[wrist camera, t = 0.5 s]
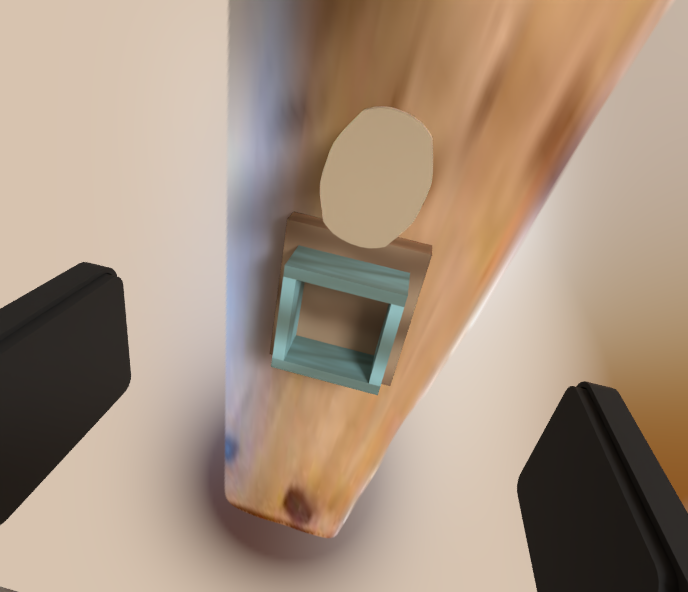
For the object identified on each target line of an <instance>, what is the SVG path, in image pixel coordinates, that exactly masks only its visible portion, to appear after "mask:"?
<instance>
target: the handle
mask: <svg viewBox="0 0 688 592" xmlns="http://www.w3.org/2000/svg"><path fill="white" fill-rule="evenodd" d="M432 175H433V137H432V135H431V134H430V132H429V130H428V129H427V128H426V127H425V125H424V124H423V123H422V122H421V121H419V120H418V119H417V118H416V117H414V116H413V115H411V114H409V113H407V112H405V111H402V110H399V109H396V108H393V107H386V106H378V107H371V108H367V109H364V110H363V111H362V112H361V113H360V114H359V115H358V116H357V117H356V118H355V119H354V120H353V121H352V122H351V123H350V124H349V125H348V126H347V127H346V128H345V129H344V130H343V131H342V132H341V133H340V135H339V136H338V137H337V139H336V140H335V142H334V143H333V145H332V147H331V150H330V152H329V155H328V158H327V161H326V164H325V167H324V170H323V173H322V177H321V181H320V200H321V209H322V216H323V222H324V223H325V225H326V226H327V227H328V228H329V229H330V231H331V232H332V233H333V234H335V235H336V236H338V237H339V238H340V239H342V240H344V241H346V242H348V243H350V244H353V245H356V246H359V247H364V248H381V247H386V246H387V245H388V244H389V243H391V242H392V241H393V240H394V239H396V238H397V237H398V236H399V235H400V234H402V233H403V232H404V231H405V230H406V229H407V228H408V227H409V226H410V225H411V224H412V223H413V222H414V220H415V218H416V217H417V215H418V213H419V211H420V209H421V207H422V205H423V203H424V201H425V199H426V196H427V194H428V192H429V189H430V186H431V183H432Z"/></svg>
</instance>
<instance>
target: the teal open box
mask: <svg viewBox="0 0 688 592" xmlns="http://www.w3.org/2000/svg"><path fill="white" fill-rule="evenodd" d="M431 256H432V246H431V245H427V244H423V243H419V242H415V241H411V240H407V239H403V238H399V237H397V238H396V239H394V240H393V241H392V242H391V243H389V244H388V245H387V246H386V247H381V248H364V247H359V246H356V245H353V244H350V243H348V242H346V241H344V240H342V239H340V238H339V237H338V236H336V235H335V234H333V233H332V232H331V231H330V229H329V228H328V227H327V226H326V225H325V223H324V222H323V219H321V218H317V217H313V216H309V215H305V214H301V213H297V212H293V213H292V215H291V216H290V217H289V218H288V219H287V225H286V233H285V240H284V248H283V256H282V264H281V271H280V279H279V287H278V294H277V302H276V310H275V317H274V325H273V333H272V340H271V348H270V354H271V355H273V357H272V364H271V367H274V368H278V369H282V370H285V371H289V372H293V373H297V374H300V375H304V376H308V377H312V378H315V379H319V380H323V381H327V382H330V383H334V384H338V385H341V386H345V387H349V388H353V389H356V390H360V391H364V392H368V393H371V394H375V395H378V392H379V389H380V386H381V384H384V385H388V386H390V385H391V382H392V379H393V376H394V373H395V369H396V366H397V363H398V360H399V357H400V354H401V351H402V347H403V344H404V341H405V338H406V335H407V332H408V329H409V325H410V322H411V319H412V316H413V313H414V310H415V307H416V304H417V300H418V297H419V294H420V291H421V288H422V285H423V282H424V278H425V275H426V272H427V269H428V266H429V263H430V260H431Z"/></svg>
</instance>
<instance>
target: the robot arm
mask: <svg viewBox="0 0 688 592" xmlns="http://www.w3.org/2000/svg"><path fill="white" fill-rule="evenodd" d="M130 380H131V371H130V358H129V347H128V335H127V324H126V312H125V301H124V289H123V282H122V280H121V278H119V277H117V274H116V272H115V271H114V270H113V269H112V268H109V267H104V266H100V265H96V264H91V263H87V262H82V263H80V264H78V265H76V266H74V267H72V268H71V269H69V270H67V271H65V272H64V273H62V274H60V275H58V276H57V277H55V278H53V279H51V280H50V281H48V282H46V283H45V284H43V285H41V286H39V287H37V288H36V289H34V290H32V291H31V292H29V293H27V294H25V295H24V296H22V297H20V298H18V299H17V300H15V301H13V302H11V303H10V304H8V305H6V306H4V307H3V308H1V309H0V525H1V524H2V523H4V522H5V521H6V520H7V519H8V518H9V517H10V515H12V513H13V512H14V511H15V510H16V509H17V508H18V507H19V506H20V505H21V504H22V503H23V501H24V500H25V499H26V498H27V497H28V496H29V495H30V494H31V493H32V492H33V491H34V490H35V488H37V486H38V485H39V484H40V483H41V482H42V481H43V480H44V479H45V478H46V477H47V475H49V473H50V472H51V471H52V470H53V469H54V468H55V467H56V466H57V465H58V464H59V463H60V462H61V461H62V459H63V458H64V457H65V456H66V455H67V454H68V453H69V451H71V450H72V448H74V446H75V445H76V444H77V443H78V442H79V441H80V440H81V439H82V438H83V437H84V436H85V435H86V433H87V432H88V431H89V430H90V429H91V428H92V427H93V426H94V425H95V424H96V423H97V422H98V421H99V419H100V418H101V417H102V416H103V415H104V414H105V413H106V412H107V411H108V410H109V409H110V408H111V406H112V405H113V404H114V403H115V402H116V401H117V400H118V399H119V398H120V397H121V396H122V395H123V393H124V392H125V391H126V390H127V388H128V386H129V383H130ZM517 493H518V499H519V503H520V509H521V514H522V519H523V524H524V528H525V533H526V538H527V543H528V548H529V553H530V558H531V562H532V568H533V573H534V578H535V582H536V588H537V592H688V513H687V511H686V510H685V508H684V506H683V504H682V502H681V501H680V499H679V497H678V496H677V494H676V492H675V490H674V488H673V487H672V485H671V483H670V482H669V480H668V478H667V476H666V475H665V473H664V471H663V469H662V468H661V466H660V464H659V462H658V461H657V459H656V457H655V455H654V454H653V452H652V450H651V448H650V447H649V445H648V443H647V441H646V440H645V438H644V436H643V434H642V433H641V431H640V429H639V427H638V426H637V424H636V422H635V420H634V419H633V417H632V415H631V413H630V412H629V410H628V408H627V406H626V405H625V403H624V401H623V399H622V398H621V396H620V394H619V393H618V391H617V390H616V389H613V388H610V387H606V386H602V385H598V384H593V383H589V382H581V383H579V384H578V385H577V386H576V387H574V386H570V387H569V388H568V389H567V390H566V391H565V393H564V395H563V397H562V399H561V401H560V402H559V404H558V406H557V408H556V410H555V412H554V413H553V415H552V417H551V419H550V421H549V423H548V424H547V426H546V428H545V430H544V432H543V434H542V435H541V437H540V439H539V441H538V443H537V445H536V446H535V448H534V450H533V452H532V454H531V455H530V457H529V459H528V461H527V463H526V465H525V467H524V468H523V470H522V472H521V474H520V476H519V479H518V484H517ZM0 592H17V591H13V590H10V589H6V588H3V587H0Z"/></svg>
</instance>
